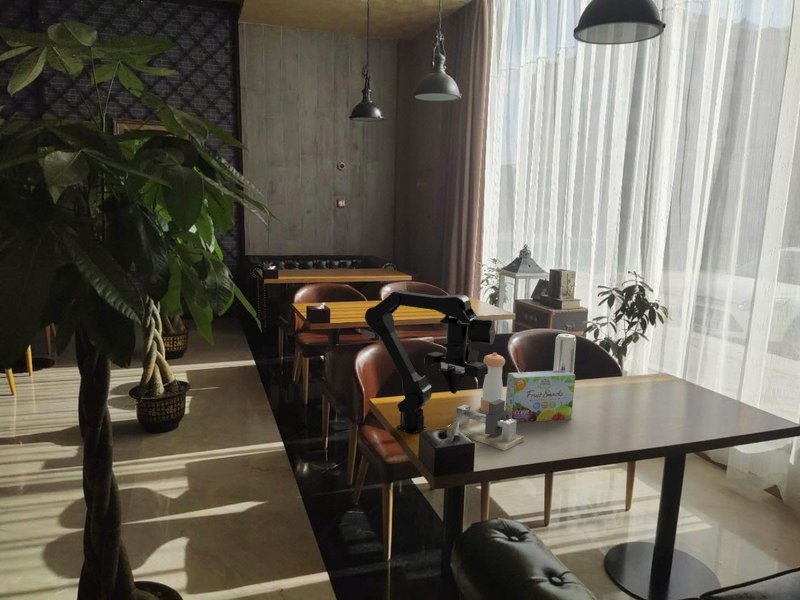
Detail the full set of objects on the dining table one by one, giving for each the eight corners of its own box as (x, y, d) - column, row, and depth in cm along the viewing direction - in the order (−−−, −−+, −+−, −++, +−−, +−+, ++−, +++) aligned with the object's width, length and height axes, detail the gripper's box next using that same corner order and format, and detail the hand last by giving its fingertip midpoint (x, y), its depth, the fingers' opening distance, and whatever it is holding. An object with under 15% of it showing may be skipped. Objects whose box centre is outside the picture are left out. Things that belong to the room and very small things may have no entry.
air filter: (568, 404, 193) (574, 333, 189) (572, 411, 186) (578, 337, 182) (549, 403, 193) (554, 332, 189) (552, 410, 187) (558, 336, 183)
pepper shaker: (496, 414, 181) (499, 357, 178) (476, 409, 185) (479, 352, 182) (506, 409, 187) (510, 352, 184) (487, 404, 191) (490, 349, 188)
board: (447, 429, 167) (447, 425, 167) (467, 421, 174) (467, 417, 174) (504, 450, 154) (505, 446, 153) (523, 440, 161) (524, 436, 161)
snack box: (512, 424, 173) (515, 377, 171) (503, 418, 178) (506, 372, 176) (572, 419, 179) (576, 373, 177) (562, 413, 184) (566, 368, 182)
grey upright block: (484, 433, 160) (486, 403, 159) (496, 427, 164) (498, 398, 163) (493, 436, 158) (495, 405, 157) (505, 430, 162) (507, 400, 161)
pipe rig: (456, 424, 168) (456, 407, 168) (464, 421, 171) (464, 404, 170) (507, 442, 156) (508, 424, 155) (515, 438, 159) (516, 420, 158)
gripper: (500, 341, 157) (497, 395, 160) (447, 330, 170) (445, 380, 172) (477, 347, 149) (474, 404, 152) (424, 335, 162) (421, 387, 164)
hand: (453, 393), depth 160 cm, fingers closed
